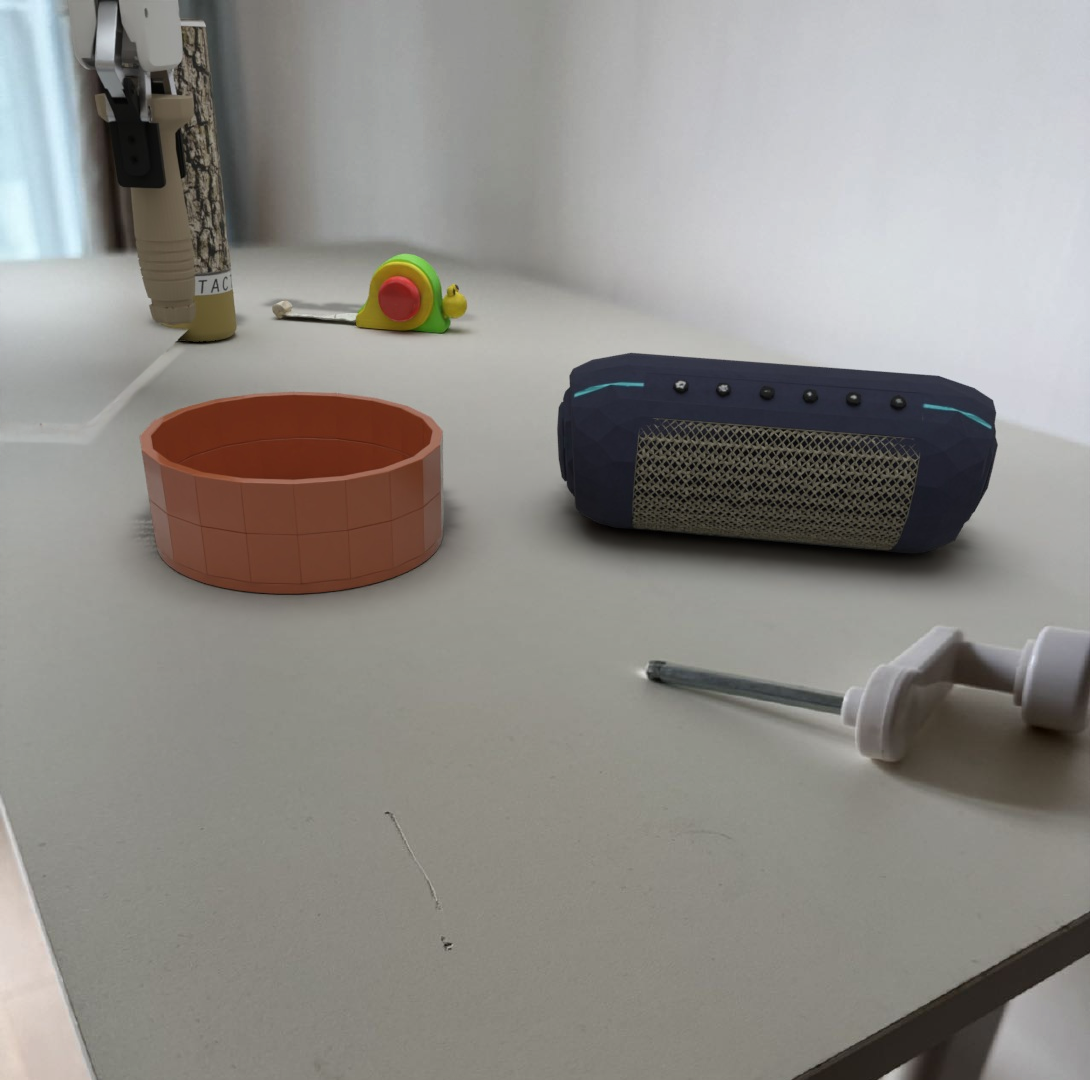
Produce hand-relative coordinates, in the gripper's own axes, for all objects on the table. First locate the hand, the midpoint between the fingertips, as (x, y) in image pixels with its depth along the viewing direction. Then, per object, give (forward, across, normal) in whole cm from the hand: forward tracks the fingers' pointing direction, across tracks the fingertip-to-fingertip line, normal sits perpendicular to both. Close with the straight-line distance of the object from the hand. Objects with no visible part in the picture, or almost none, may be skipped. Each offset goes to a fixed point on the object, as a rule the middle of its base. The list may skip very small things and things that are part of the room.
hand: (153, 179), depth 80 cm
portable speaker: (+16, +26, +41) cm, 51 cm away
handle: (+10, 0, 0) cm, 10 cm away
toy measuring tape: (+16, -26, +12) cm, 33 cm away
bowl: (+15, +28, +14) cm, 35 cm away
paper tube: (+15, -19, -3) cm, 25 cm away
